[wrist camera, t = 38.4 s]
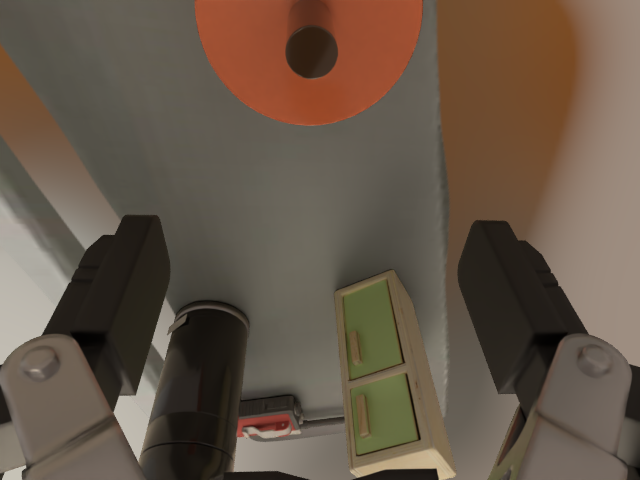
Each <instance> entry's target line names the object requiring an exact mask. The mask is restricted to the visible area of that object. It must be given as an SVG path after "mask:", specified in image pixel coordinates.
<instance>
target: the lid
mask: <svg viewBox="0 0 640 480" xmlns="http://www.w3.org/2000/svg"><path fill="white" fill-rule="evenodd" d="M422 14H423V0H195V15H196V22H197V27H198V33H199V36H200V39H201V43H202V46H203V49H204V51H205V53H206V55H207V58H208V60H209V62H210V64H211V65H212V67H213V69H214V70H215V72H216V74H217V75H218V77H219V78H220V79H221V80H222V82H223V83H224V84H225V86H226V87H227V88H228V89H229V90H230V91H231V92H232V93H233V94H234V95H235V96H236V97H237V98H239V99H240V100H241V101H242V102H243V103H245V104H246V105H247V106H249V107H251V108H252V109H254V110H255V111H257V112H259V113H261V114H263V115H265V116H267V117H269V118H272V119H275V120H278V121H281V122H285V123H290V124H295V125H306V126H307V125H323V124H330V123H334V122H338V121H341V120H345V119H347V118H350V117H352V116H354V115H357V114H358V113H360V112H362V111H364V110H366V109H367V108H369V107H370V106H371V105H373V104H374V103H376V102H377V101H378V100H379V99H380V98H382V97H383V96H384V95H385V94H386V93H387V92H388V91H389V90H390V89H391V87H392V86H393V85H394V84H395V83H396V82H397V80H398V79H399V77H400V76H401V74H402V73H403V71H404V70H405V68H406V66H407V64H408V62H409V60H410V59H411V57H412V54H413V52H414V49H415V46H416V44H417V40H418V36H419V32H420V28H421V22H422Z"/></svg>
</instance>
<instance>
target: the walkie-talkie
mask: <svg viewBox="0 0 640 480" xmlns="http://www.w3.org/2000/svg"><path fill="white" fill-rule="evenodd" d="M303 419H304V414H301V405H300V403H299V402H296V403H295V400H294V398H293V396H282V397H275V398H267V399H259V400H251V401H243V402H241V403H240V413H239V422H238V431H237V437H245V438H249V436H253V435H259V436H261V437H263V438H273V437H276V436H279V437H281V436H287V435H290V434H301V430H302V429H308V428H310V427H318V426H327V425H335V424H344V423H345V417H337V418H329V419H320V420H312V421H307V420H304V421H303Z"/></svg>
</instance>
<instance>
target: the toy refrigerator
mask: <svg viewBox="0 0 640 480" xmlns="http://www.w3.org/2000/svg"><path fill="white" fill-rule="evenodd" d="M334 299H335V310H336V320H337V333H338V344H339V357H340V367H341V379H342V393H343V405H344V417H345V428H346V440H347V453H348V462H349V463H348V464H349V469H350V471H351V472H352V473H353V474H354V475H355V476H356V477H357V478H359V477H362V476H366V475H369V474H372V473H375V472H379V471H382V470H385V469H435V468H437V473H438V477H439V480H444V479H448V478H452V477H454V476H456V468H455V464H454V460H453V456H452V452H451V449H450V445H449V441H448V437H447V433H446V429H445V426H444V422H443V418H442V414H441V410H440V406H439V402H438V399H437V395H436V391H435V387H434V383H433V379H432V375H431V372H430V368H429V364H428V360H427V356H426V352H425V348H424V345H423V341H422V337H421V333H420V329H419V326H418V322H417V318H416V314H415V310H414V306H413V303H412V300H411V298H410V297H409V295H408V293H407V291H406V290H405V288H404V286H403V285H402V283H401V281H400V280H399V278H398V276H397V274H396V273H395V271H394V270H389V271H386V272H384V273H381V274H379V275H376V276H373V277H371V278H368V279H366V280H363V281H361V282H358V283H355V284H353V285H350V286H347V287H345V288H342V289H339V290H337V291H335V293H334Z"/></svg>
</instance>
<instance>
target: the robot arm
mask: <svg viewBox="0 0 640 480" xmlns="http://www.w3.org/2000/svg"><path fill="white" fill-rule="evenodd" d="M78 266H79V268H78V269H76V271H75V273H74V275H73V277H72V279H71V280H72V281H71V283H69V284H68V286H67V288H66V290H65V292H64V294H63V296H62V298H61V300H60V302H59V303H58V305H57V307H56V309H55V311H54V313H53V315H52V317H51V319H50V321H49V323H48V324H47V326H46V328H45V330H44V332H43V334H42V335H41V336H39V337H36V338H34V339H31V340H30V341H27V342H25V343H24V344H22V345H21V346H19V347H18V348H17V349H15V350H14V351H13V352H12V353H11V354H10V355H9V356H8V357H7V359H6V360H5V362H4V363H3V364H2V365H0V480H2V478H3V475H4V472H6V471H9V470H12V469H15V468H18V467H21V466H24V465H26V469H24V470H23V471H22V480H308V479H305V478H301V477H297V476H293V475H290V474H286V473H282V472H278V471H264V472H234V461H235V451H236V442H237V431H238V422H239V413H240V403H241V394H242V384H243V375H244V366H245V356H246V348H247V339H248V336H249V322H248V320H247V318H246V317H245V315H244V314H243V313H241V312H240V311H239V310H237V309H236V308H234V307H232V306H229V305H227V304H223V303H219V302H209V301H206V302H197V303H193V304H190V305H188V306H186V307H184V308H182V309H181V310H180V311H179V312H178V313H177V315H176V317H175V321H174V324H173V325H171V326H170V327H169V330H168V334H169V333H171V332H172V335H171V339H170V343H169V346H168V350H167V354H166V358H165V361H164V365H163V369H162V373H161V377H160V381H159V385H158V389H157V393H156V396H155V400H154V404H153V408H152V412H151V416H150V420H149V424H148V428H147V432H146V436H145V440H144V443H143V448H142V451H141V455H140V458H139V462H138V461H137V459H136V457H135V455H134V453H133V451H132V449H131V447H130V445H129V443H128V441H127V439H126V437H125V435H124V433H123V431H122V429H121V427H120V425H119V423H118V421H117V419H116V417H115V415H114V413H113V412H114V409H115V406H116V403H117V400H118V397H119V396H123V395H124V396H125V395H126V396H129V395H136V392H137V389H138V386H139V382H140V379H141V376H142V372H143V369H144V365H145V362H146V359H147V355H148V352H149V349H150V345H151V342H152V339H153V335H154V332H155V328H156V325H157V322H158V318H159V315H160V312H161V308H162V305H163V301H164V298H165V295H166V291H167V288H168V285H169V280H170V259H169V255H168V250H167V246H166V242H165V238H164V234H163V230H162V225H161V222H160V219H159V217H158V216H157V215H125V216H124V217H123V218H122V220H121V223H120V225H119V227H118V229H117V231H116V233H115V235H103V236H101V237H100V238H99V239H98V240H97V241H96V242H95V243H93V245H91V246H90V247H89V248H88V249H87V250H86V252H85V254H84V256H83V258H82V260H81V262H80V263H79V265H78ZM458 283H459V287H460V289H461V292H462V295H463V298H464V300H465V303H466V306H467V309H468V311H469V314H470V317H471V320H472V322H473V325H474V328H475V331H476V334H477V336H478V339H479V342H480V345H481V347H482V350H483V353H484V356H485V358H486V361H487V364H488V366H489V369H490V372H491V375H492V378H493V380H494V383H495V386H496V389H497V391H498V394H516V395H517V397H518V400H519V402H520V404H519V406H518V407H517V409H516V411H515V414H514V416H513V419H512V421H511V424H510V426H509V429H508V431H507V434H506V436H505V439H504V441H503V444H502V446H501V449H500V451H499V454H498V456H497V459H496V461H495V464H494V466H493V469H492V471H491V473H490V475H489V478H488V480H640V367H637V366H633V365H630V364H628V362H627V360H626V359H625V357H624V356H623V355H622V354H621V353H620V352H619V351H618V350H617V349H616V348H615V347H613V346H612V345H611V344H609V343H608V342H606V341H604V340H602V339H600V338H598V337H595V336H592V335H589V334H588V332H587V330H586V329H585V327H584V325H583V324H582V322H581V320H580V319H579V317H578V315H577V314H576V312H575V310H574V309H573V307H572V305H571V303H570V302H569V300H568V298H567V297H566V295H565V293H564V292H563V290H562V288H561V287H560V286H558V281H557V280H556V278H555V276H554V275H553V273H551V270H550V268H549V266H548V265H547V263H546V261H545V260H544V258H543V256H542V254H540V253H539V252H538V251H537V250H536V249H535V248H533V247H532V246H531V245H530V244H529V243H528V242H526V241H518V240H517V238H516V236H515V234H514V232H513V231H512V229H511V227H510V225H509V224H508V222H506V221H487V220H486V221H485V220H484V221H482V220H476V221H475V222H474V223H473V224H472V226H471V229H470V232H469V234H468V237H467V240H466V243H465V246H464V249H463V252H462V255H461V258H460V261H459V264H458ZM168 334H167V335H168ZM353 480H439V477H438V473H437V468H435V469H385V470H382V471H379V472H375V473H372V474H369V475H366V476H362V477H359V478H356V479H353Z"/></svg>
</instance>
